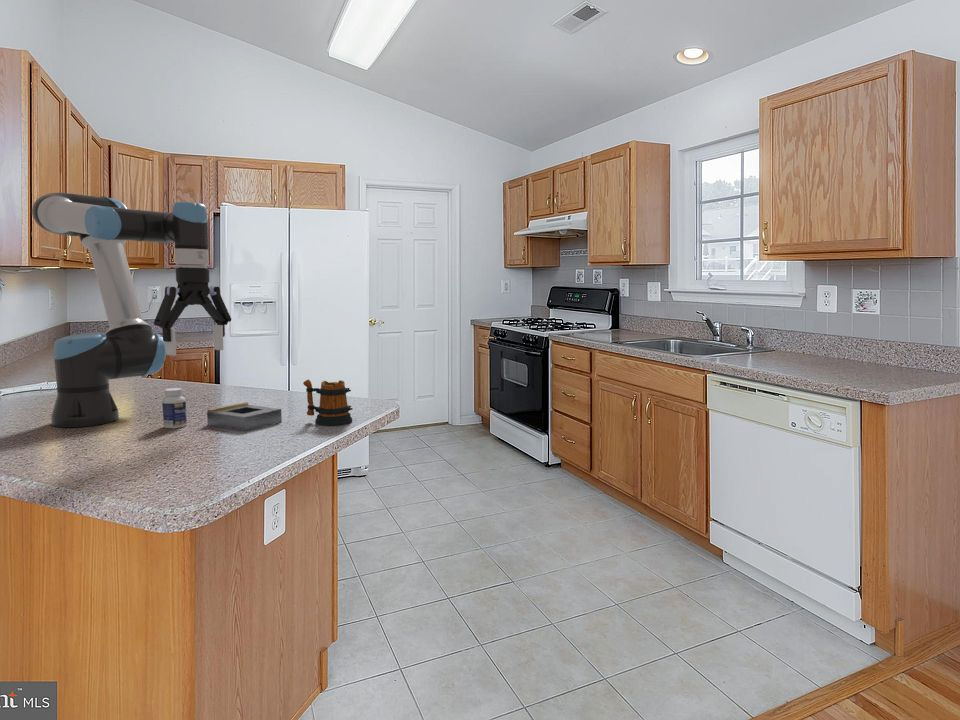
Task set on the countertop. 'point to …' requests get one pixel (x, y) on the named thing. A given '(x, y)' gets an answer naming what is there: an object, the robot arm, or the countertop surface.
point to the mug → (329, 403)
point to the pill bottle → (174, 409)
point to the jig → (243, 416)
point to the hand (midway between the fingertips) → (195, 352)
